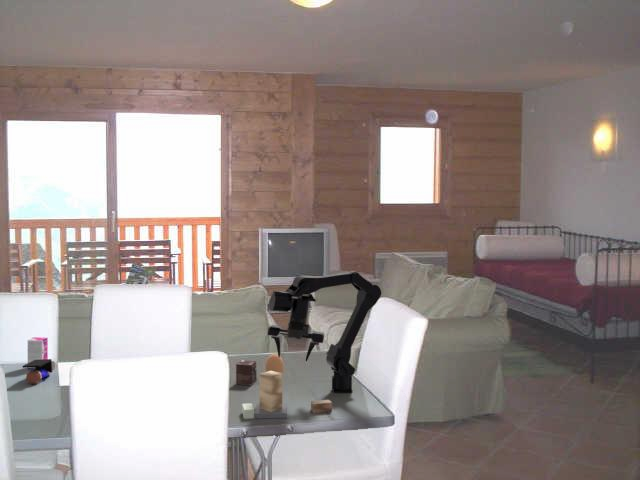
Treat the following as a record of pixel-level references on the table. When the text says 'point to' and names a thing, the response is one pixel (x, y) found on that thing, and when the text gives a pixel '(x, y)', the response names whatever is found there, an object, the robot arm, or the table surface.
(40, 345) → the supplement box
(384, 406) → the table surface
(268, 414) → the slate tile
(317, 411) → the walnut brick
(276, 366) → the egg
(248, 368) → the box
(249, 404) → the sage brick
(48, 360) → the figurine character
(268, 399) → the oak block
